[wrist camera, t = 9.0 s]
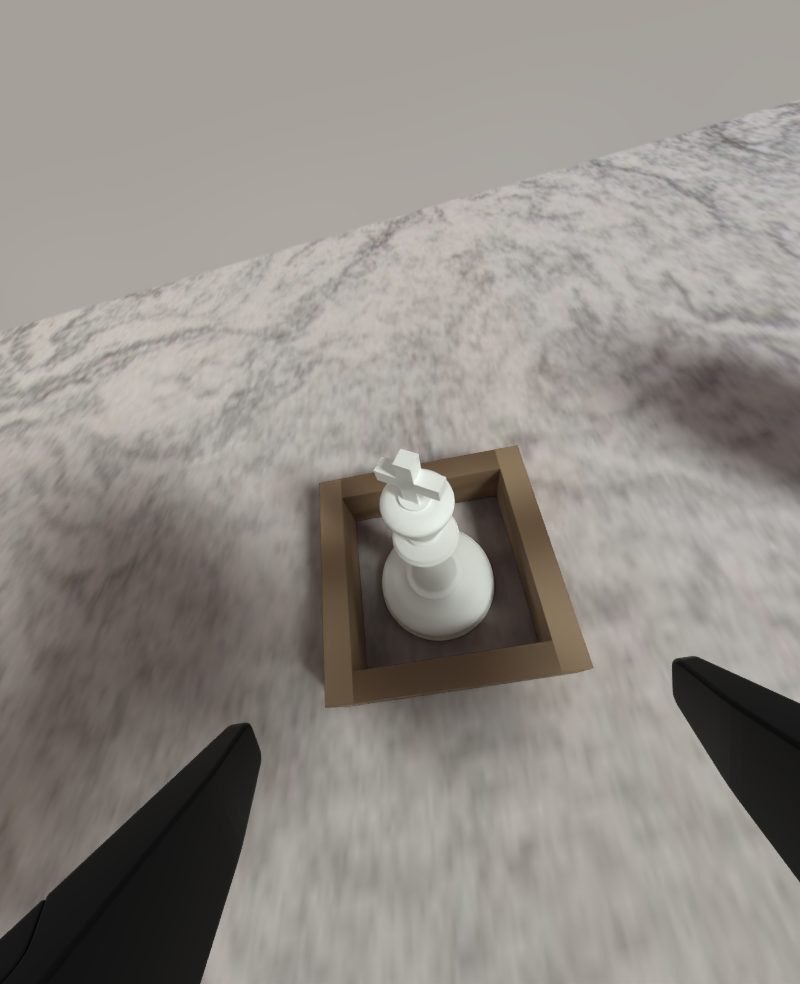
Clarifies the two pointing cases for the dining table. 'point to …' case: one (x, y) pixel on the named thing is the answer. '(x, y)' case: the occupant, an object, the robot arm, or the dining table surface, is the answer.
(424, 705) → the dining table surface
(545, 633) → the socket frame
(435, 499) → the chess piece
